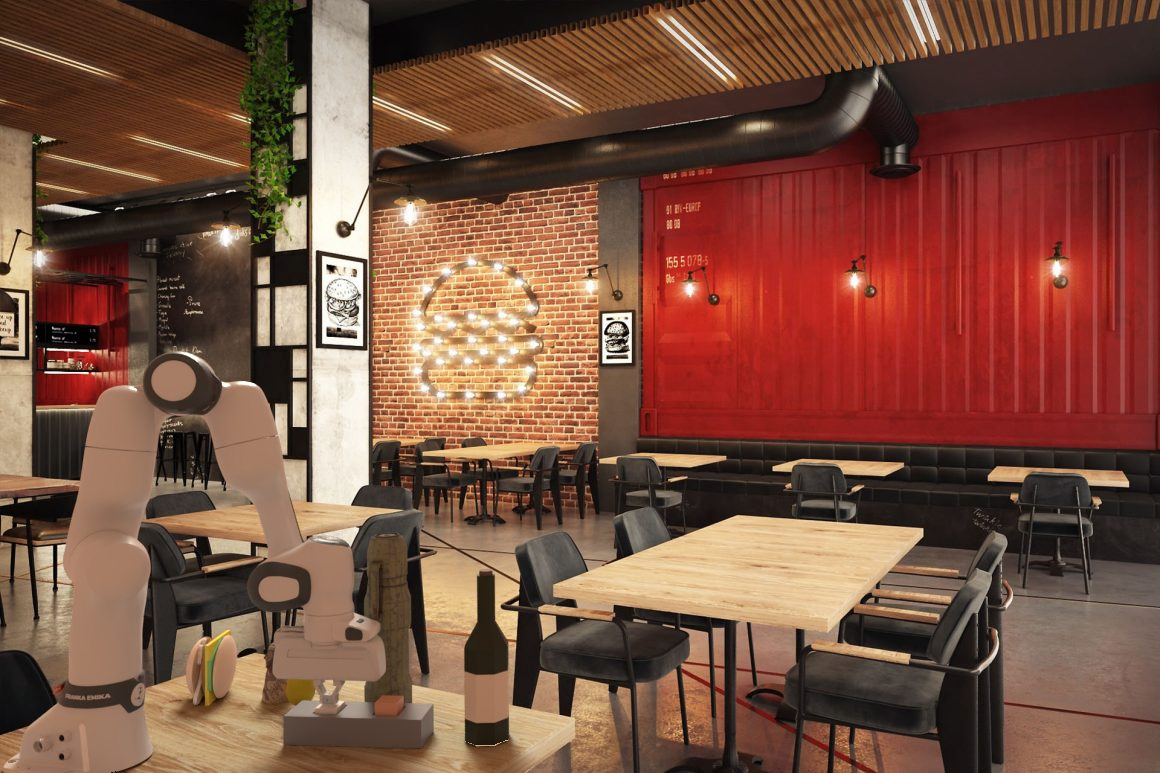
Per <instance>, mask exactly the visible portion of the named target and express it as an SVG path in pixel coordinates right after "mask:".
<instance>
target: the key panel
mask: <svg viewBox="0 0 1160 773" xmlns="http://www.w3.org/2000/svg"><path fill="white" fill-rule="evenodd" d="M319 704H320V700H311V701H305V700H302V701H301V702H300V703H299V704H297V705H296V706H294V707H292V708H291V709H290V710H289V711H288V712H286V713H285V714H284V715H283V717H282V721H283V722H282V724H283V726H282V728H283V729H282V730H283V736H282V738H283V743H282V745H287V746H288V745H289V746H315V747H316V746H317V747H319V746H320V747H351V748H352V747H353V748H354V747H355V748H379V749H380V748H381V749H382V748H384V749H385V748H387V749H412V748H423V747H424V746H425V745H426V743H427V741H428V740H429V739H428V738H430V737H431V736H432V735H433V733H434V732H433V731H434V730H435V728H434V727H435V726H434V724H435V723H434V722H435V721H434V718H435V717H434V716H435V715H434V713H435V712H434V703H425V702H424V703H421V702H420V703H415V702H414V703H413V702H412V703H404V710H403V711H402V712H401V713H400V714H399V716H386V715H375V702H364V701H345V708H344V709H343V710H342V711H341V712H340V713H339V714H315V708H316V707H317V706H318V705H319ZM432 732H433V733H432ZM430 735H431V736H430ZM429 736H430V737H429ZM425 742H426V743H425ZM423 745H424V746H423Z"/></svg>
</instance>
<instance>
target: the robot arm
mask: <svg viewBox="0 0 1160 773" xmlns="http://www.w3.org/2000/svg"><path fill="white" fill-rule="evenodd" d="M189 416H199V417H201V418H202V419H203V420H204V422H206V424H207V427H208V429H209V432H210V434H211V435H210V436H211V440H212V443H213V449H214V453H215V454H214V455H215V458H216V461H217V462H216V463H217V464H218V467H219V470H220V472H221V475H222V477H223V479H224V481H225V483H226V484H227V485H228V486H229V488H231V489H233V490H235V491H237V492H238V493H240V494H242V495H243V496H245V498H247V499H248V500H249V501H250V502H251V503H252V504H253V506H254V508H255V509H256V512H257V514H258V518H259V521H260V524H261V527H262V531H263V535H264V537H265V542H266V544H267V545H266V546H267V558H266V559H265V560H264V561H262V562H260V563H259V564H258V565H257V566H256V567H255V568H254V569H253V570H252V571H251V573H250V574H249V576H248V579H247V584H246V590H247V595H248V598H249V600H250V601H251V603H252V604H253V605H254V606H255V607H256V608H257V609H259V610H261V611H263V612H266V613H280V612H284V611H285V612H286V611H289V610H294V609H297V608H302V609H303V625H293V626H291V625H288V624H287V625H282V626H281V627H279V628H278V629H276V631H275V632H274V635H273V642H274V646H275V652H274V658H273V674H274V676H275V677H276V678H277V679H308V680H313V686H314V687H315V692H317V694H318V696H319V701H320V704H331V705H336V704H337V703H338V701H340V699H339V698H340V692H341V690H342V688H343V687H344V685H345V683H346V682H347V681H350V682H351V681H352V682H366V681H377V680H379V679H380V678H381V677H382V676H383V675H384V673H385V671H386V658H385V649H384V644H383V641H382V639H381V638H380V637H379V636H378V635H377V634H378V633H379V632H380V623H379V622H378V621H375V620H372V619H370V618H367V617H364V615H362V614H359V613H356V612H355V604H354V602H353V590H354V587H355V565H354V564H355V563H354V556H353V551H352V547H351V546H350V544H349V543H348V542H347V541H346V540H344V539H343V538H339V537H337V536H336V537H335V536H331V535H314V536H310V537H309V538H307V539H306V540H304V538H303V535H302V533H301V529H300V526H299V522H298V518H297V514H296V512H295V508H294V505H293V500H292V498H291V493H290V491H289V488H288V482H287V476H286V470H285V463H284V458H283V457H284V456H283V450H282V446H281V440H280V437H279V436H280V435H279V432H278V427H277V424H276V421H275V418H274V415H273V412H272V410H271V406H270V404H269V402H268V399H267V397H266V395H265V393H264V391H263V390H262V388H261V387H260V386H259V385H257V384H256V383H253V382H249V381H244V380H238V381H237V380H236V381H230V382H229V381H228V382H224V381H222V380H221V379H220V378H219V377H218V376H217V374H216V372H215V370H214V369H213V368H212V366H211V365H210V364H209V363H208V362H207V361H206V360H205V359H203V358H202V357H200V356H198V355H196V354H194V353H193V354H192V353H190V352H186V351H180V350H178V351H177V350H174V351H169V352H168V351H167V352H164V353H162V354H160V355H158V356H156V357H155V358H154V359H152V360H151V361H150V362H149V363H148V365H147V366H146V368H145V370H144V372H143V375H142V383H141V384H138V385H128V384H127V385H126V384H125V385H124V384H122V385H116V386H112V387H110V388H107V389H106V390H104V391H103V392H102V393H101V394H100V395H99V397H98V399H97V401H96V404H95V406H94V409H93V412H92V415H91V418H90V422H89V426H88V429H87V430H88V431H87V436H86V441H85V447H84V452H83V460H82V467H81V474H80V479H79V489H78V493H77V496H76V502H75V504H74V508H73V512H72V515H71V520H70V523H69V528H68V532H67V535H66V536H67V537H66V540H65V541H66V542H65V545H64V546H65V548H64V551H63V556H62V567H63V570H64V573H65V574H66V576H67V577H68V579H69V580H70V581H71V582H72V584H73V600H72V602H73V604H72V614H71V620H70V621H71V622H70V627H69V631H68V679H66V680H64V681H62V682H61V683H60V684H58V685H56V686H55V687H53V688H52V690H54V691H53V692H52V694H53V695H56V694H58V693H60V692H61V693H60V695H59V698H58V701H57V703H56V704H55V705H53V706H52V707H51V708H49V709H48V710H47V711H46V712H45V713H43V714H42V715H41V716H40V717H38V718H37V719H36V720H34V721H33V722H32V723H31V724H30V725H29V726H28V727H27V728H26V729H25V730H24V733H23V735H22V737H21V741H20V747H19V752H18V753H16V754H15V755H14V756H12V757H10V758H9V759H8V760H7V761H6V762H5V763H4V765H3V767H2V769H3V768H5V769H9V770H16V771H23V772H31V773H111V772H113V773H116V772H119V771H123V770H126V769H129V768H132V767H134V766H136V765H138V764H140V763H142V762H144V761H145V760H147V759H148V758H149V757H150V756H152V755H153V753H154V747H153V745H152V741H151V738H150V734H149V730H148V726H147V721H146V713H145V698H146V671H145V669H143V624H144V616H145V608H146V603H147V596H148V586H149V579H150V575H151V571H152V570H151V567H152V566H151V559H150V555H149V553H148V550H147V548H146V547H145V546H144V544H142V543H141V542H140V541H139V540H138V536H139V531H140V527H141V524H142V521H143V518H144V514H145V510H146V508H147V505H148V503H149V501H150V499H151V496H152V489H153V482H154V475H155V467H156V459H157V452H158V444H159V437H160V433H161V429H162V427H163V424H164V423H165V421H166V420H172V419H176V418H182V417H189ZM326 681H333V682H332V683H333V684H332V686H334V687H335V688H334V690H333V691H327V689H326V687H325V685H324V683H325V682H326ZM10 760H15V761H16V762H13V763H8V761H10ZM30 768H31V769H30ZM115 771H116V772H115Z"/></svg>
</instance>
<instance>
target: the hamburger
mask: <svg viewBox="0 0 1160 773" xmlns="http://www.w3.org/2000/svg"><path fill="white" fill-rule="evenodd" d="M237 655H238V653H237V645H236V642H235V640H234V638H233V637H232V629H226V630H225V631H223V632H222V633H221V634H219V635H218V636H214V637H213V636H212V638H211V637H210V636H204V637H202V638H200V639H199V640H198V641H197V642H196V643H195V644H194V646H193V647H192V649H191V650H190V653H189V655H188V658H187V662H186V666H185V667H186V668H185V681H186V686H187V689H188V691H189V692H190V694H191V695H192V697H193V698H192V704H193V706H198V704H199V705H200V702H201V700H202V699H203V696H204V706H205V707H209V706H211V705H212V704H213V703H214V702H215V701H216V700H218V699H222V698H223V697H225V696H226V695H227V693H228V692H229V690H230V688H231V687H230V686H232V684H233V681H234V678H235V674H236V671H237V661H238V660H237V659H238V656H237ZM213 701H214V702H213ZM212 702H213V703H212Z"/></svg>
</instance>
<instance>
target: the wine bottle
mask: <svg viewBox="0 0 1160 773" xmlns="http://www.w3.org/2000/svg"><path fill="white" fill-rule="evenodd" d="M478 571H479V573H477V574H476V623H475V625H474V627H473V628H472V630H471V632H470V634H469V636H468V638H467V640H466V641H465V644H464V646H463V660H464V662H463V668H464V670H463V676H464V677H463V678H464V680H463V681H464V683H463V684H464V685H463V686H464V691H463V692H464V693H463V694H464V742H465V741H466V742H469V743H472V744H474V745H495V744H497V743H500V742H503V741H505V740H508V739H510V686H509V685H510V677H509V676H510V675H509V674H510V673H509V671H510V670H509V669H510V668H509V665H510V664H509V663H510V661H509V658H510V657H509V640H508V638H507V637H506V635H505V634H504V632H503V630H502V629H501V627H500V626H499V624H498V622H497V621H496V574H495V573H493V569H492V568H481V569H479V570H478Z"/></svg>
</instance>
